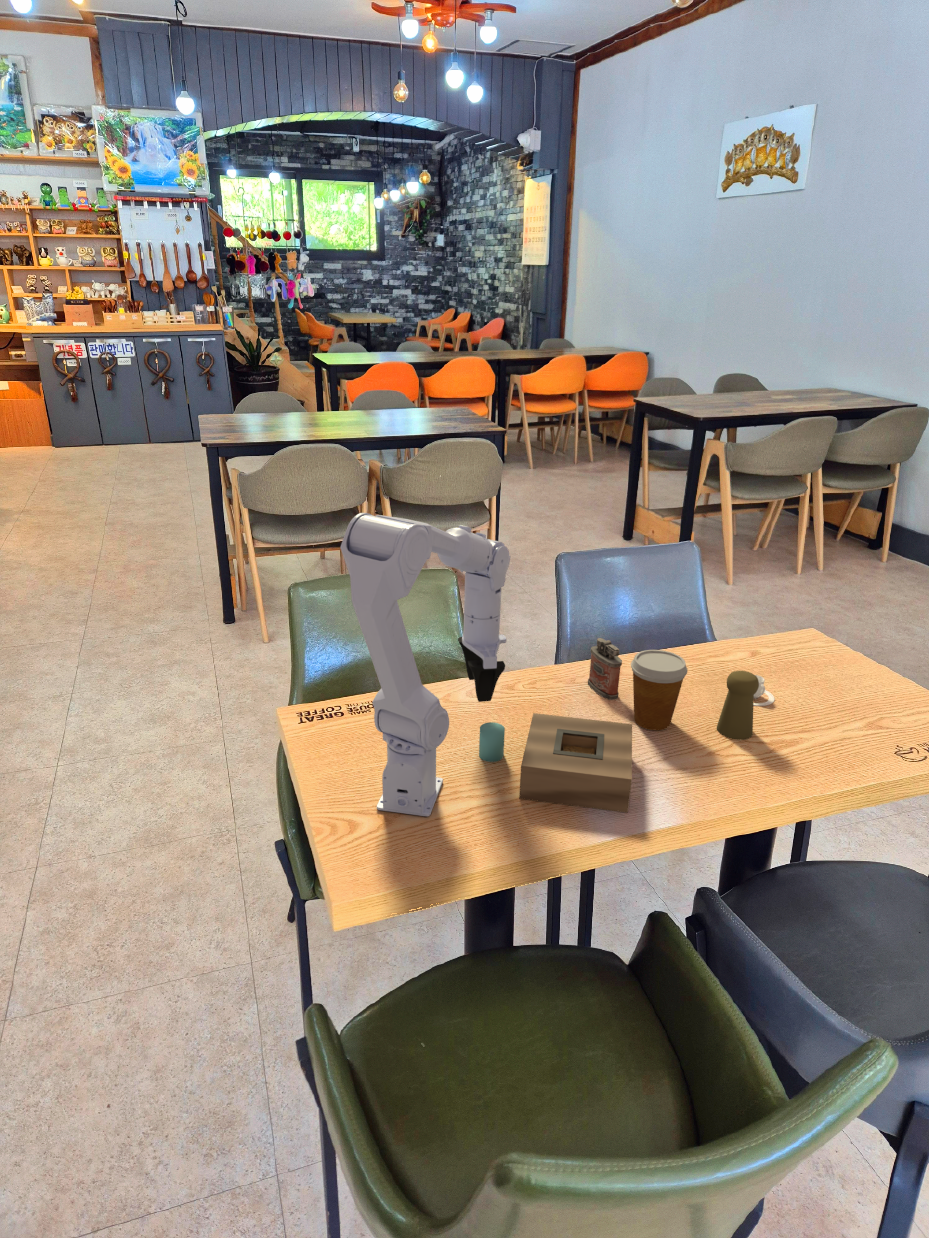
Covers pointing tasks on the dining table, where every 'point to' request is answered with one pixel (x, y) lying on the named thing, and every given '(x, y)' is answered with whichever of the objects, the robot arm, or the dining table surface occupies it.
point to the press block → (577, 763)
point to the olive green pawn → (738, 706)
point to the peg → (491, 742)
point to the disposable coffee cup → (656, 687)
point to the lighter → (605, 669)
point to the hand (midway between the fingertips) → (479, 689)
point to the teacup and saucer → (762, 689)
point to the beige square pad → (578, 749)
